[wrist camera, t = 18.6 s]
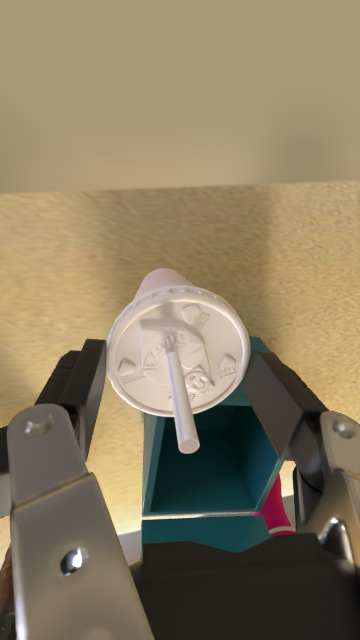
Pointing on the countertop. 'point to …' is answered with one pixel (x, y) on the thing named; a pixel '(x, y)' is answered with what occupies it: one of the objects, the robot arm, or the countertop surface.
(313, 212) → the countertop surface
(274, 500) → the pepper mill
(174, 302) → the smoothie
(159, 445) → the cool box
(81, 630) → the robot arm
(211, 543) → the lid
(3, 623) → the sauce bottle
